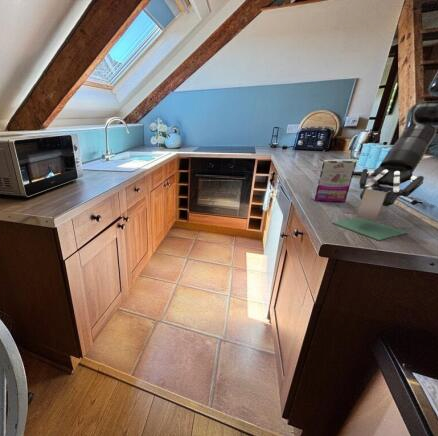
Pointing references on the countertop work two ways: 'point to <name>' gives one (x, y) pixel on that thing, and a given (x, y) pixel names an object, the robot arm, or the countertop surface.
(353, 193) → the countertop surface
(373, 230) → the green mat
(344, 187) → the candy bar box
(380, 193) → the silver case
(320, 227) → the countertop surface
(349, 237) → the countertop surface
